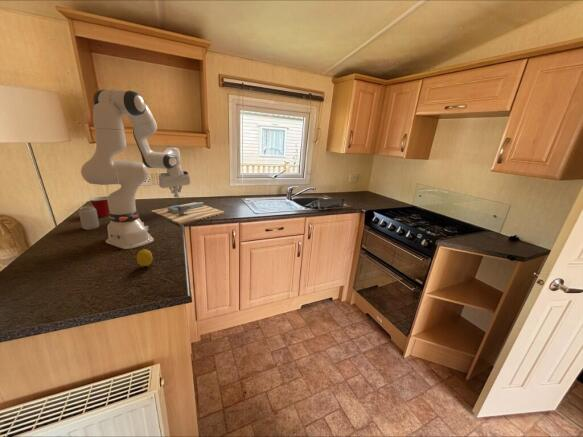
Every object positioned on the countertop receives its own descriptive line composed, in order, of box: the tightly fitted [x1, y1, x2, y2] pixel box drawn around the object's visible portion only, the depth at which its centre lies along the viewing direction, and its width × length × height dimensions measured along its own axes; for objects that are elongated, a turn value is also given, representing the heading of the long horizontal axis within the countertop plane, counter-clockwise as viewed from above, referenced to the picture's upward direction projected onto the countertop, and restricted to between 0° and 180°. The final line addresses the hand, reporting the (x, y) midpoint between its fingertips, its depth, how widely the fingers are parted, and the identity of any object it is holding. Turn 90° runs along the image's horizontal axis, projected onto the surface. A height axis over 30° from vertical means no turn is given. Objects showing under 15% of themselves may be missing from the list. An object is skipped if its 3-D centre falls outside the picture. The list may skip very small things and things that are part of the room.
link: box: [167, 201, 205, 213], centre depth 173 cm, size 24×9×2 cm, turn 145°
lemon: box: [136, 248, 153, 267], centre depth 99 cm, size 6×6×8 cm
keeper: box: [178, 206, 190, 215], centre depth 161 cm, size 4×7×5 cm, turn 145°
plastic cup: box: [88, 195, 109, 218], centre depth 151 cm, size 11×11×12 cm
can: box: [78, 205, 100, 231], centre depth 132 cm, size 8×8×12 cm
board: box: [152, 201, 225, 226], centre depth 169 cm, size 34×34×2 cm
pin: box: [172, 186, 180, 198], centre depth 163 cm, size 3×3×8 cm
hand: (176, 192), depth 163 cm, fingers closed on pin, 3 cm apart
